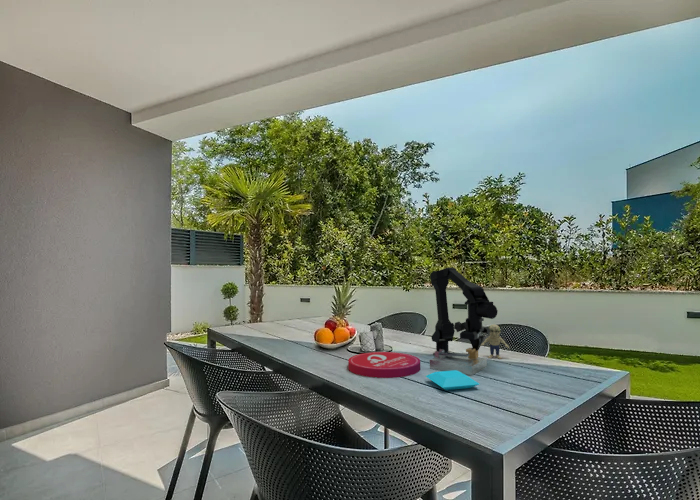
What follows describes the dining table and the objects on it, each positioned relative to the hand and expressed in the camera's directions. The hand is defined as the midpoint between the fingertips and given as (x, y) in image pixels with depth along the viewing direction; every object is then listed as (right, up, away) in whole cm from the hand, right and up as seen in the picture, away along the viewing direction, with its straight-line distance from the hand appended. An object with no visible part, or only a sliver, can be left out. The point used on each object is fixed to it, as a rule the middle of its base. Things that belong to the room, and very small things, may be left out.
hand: (475, 353), depth 172 cm
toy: (+13, -6, +14) cm, 20 cm away
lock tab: (-3, -1, -3) cm, 4 cm away
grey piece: (-8, -5, -3) cm, 10 cm away
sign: (-39, -6, -1) cm, 39 cm away
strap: (-11, 0, -4) cm, 12 cm away
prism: (-17, -5, -27) cm, 32 cm away
